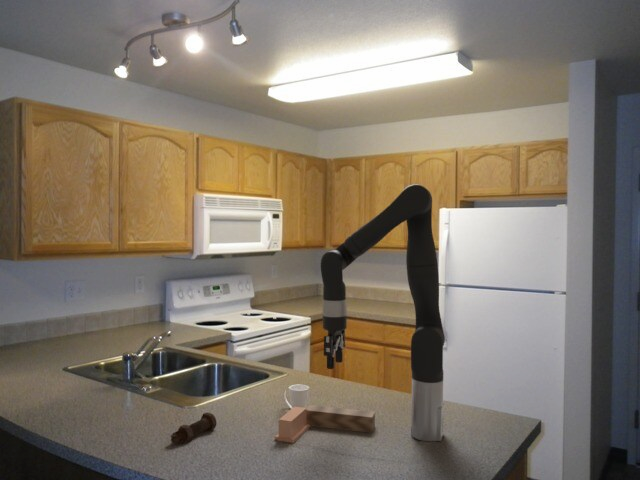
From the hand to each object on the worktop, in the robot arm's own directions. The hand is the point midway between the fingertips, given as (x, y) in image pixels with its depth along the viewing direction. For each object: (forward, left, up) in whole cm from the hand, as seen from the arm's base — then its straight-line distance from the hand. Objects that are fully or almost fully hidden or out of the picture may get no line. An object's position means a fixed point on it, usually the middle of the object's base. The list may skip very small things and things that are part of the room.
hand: (334, 365), depth 166 cm
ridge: (+9, +11, -19) cm, 24 cm away
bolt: (+36, +24, -19) cm, 47 cm away
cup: (+16, -8, -19) cm, 26 cm away
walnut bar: (-2, 0, -19) cm, 19 cm away
